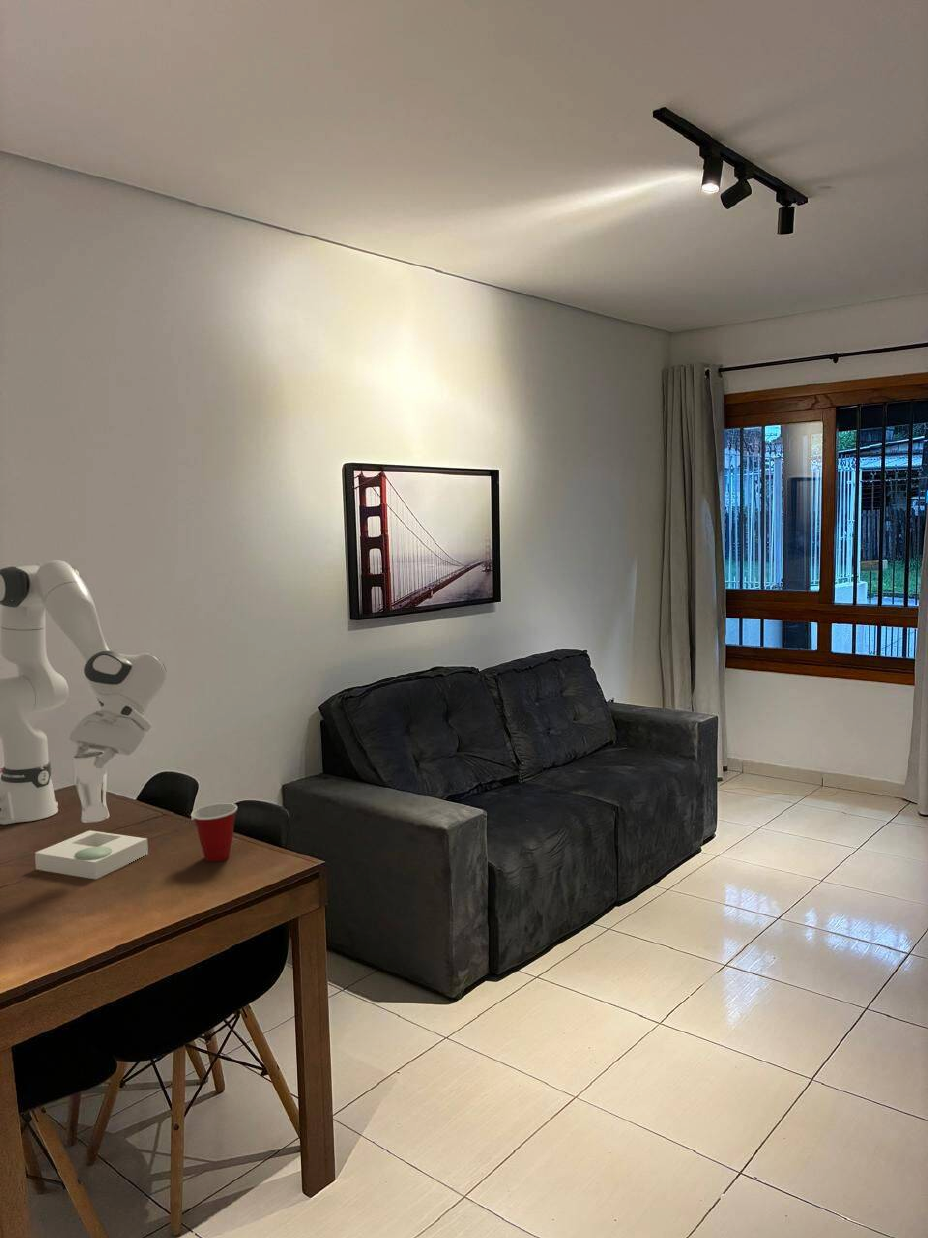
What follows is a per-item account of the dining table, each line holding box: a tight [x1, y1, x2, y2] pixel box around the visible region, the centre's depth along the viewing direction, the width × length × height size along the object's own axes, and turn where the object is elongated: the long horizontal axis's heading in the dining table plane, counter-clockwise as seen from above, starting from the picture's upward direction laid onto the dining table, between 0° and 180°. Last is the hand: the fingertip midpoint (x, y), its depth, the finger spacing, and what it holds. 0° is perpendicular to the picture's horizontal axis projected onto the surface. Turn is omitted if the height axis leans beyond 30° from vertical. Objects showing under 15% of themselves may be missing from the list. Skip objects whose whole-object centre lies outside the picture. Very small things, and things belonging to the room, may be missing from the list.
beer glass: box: [72, 750, 111, 824], centre depth 213 cm, size 7×7×15 cm
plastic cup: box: [190, 802, 238, 863], centre depth 222 cm, size 11×11×12 cm
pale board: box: [34, 829, 149, 880], centre depth 221 cm, size 18×17×4 cm
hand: (86, 764), depth 212 cm, fingers open, 6 cm apart
